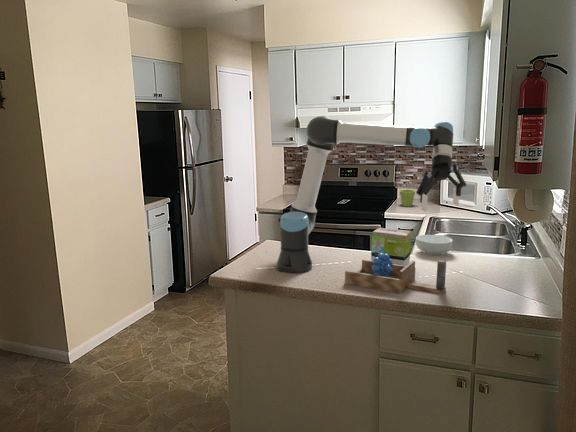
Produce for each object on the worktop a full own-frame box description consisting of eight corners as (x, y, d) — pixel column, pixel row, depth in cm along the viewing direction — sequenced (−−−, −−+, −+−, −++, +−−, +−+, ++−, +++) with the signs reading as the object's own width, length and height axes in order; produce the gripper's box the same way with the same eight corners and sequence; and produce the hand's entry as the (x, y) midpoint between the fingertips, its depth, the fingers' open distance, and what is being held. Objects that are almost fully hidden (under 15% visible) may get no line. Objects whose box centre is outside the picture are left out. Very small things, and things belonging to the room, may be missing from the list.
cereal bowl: (442, 260, 220) (443, 244, 219) (408, 253, 231) (409, 239, 229) (457, 252, 233) (458, 237, 231) (424, 246, 243) (425, 232, 242)
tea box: (370, 264, 214) (371, 231, 212) (377, 258, 223) (378, 226, 220) (404, 269, 208) (405, 235, 205) (410, 262, 216) (411, 230, 213)
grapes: (381, 288, 184) (382, 257, 182) (367, 283, 189) (368, 253, 187) (400, 281, 191) (401, 251, 189) (386, 277, 196) (387, 248, 194)
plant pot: (401, 204, 363) (401, 189, 361) (417, 205, 357) (417, 190, 355) (396, 206, 353) (396, 191, 351) (412, 208, 347) (413, 192, 345)
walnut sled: (450, 285, 186) (451, 256, 184) (438, 300, 171) (440, 268, 169) (362, 271, 204) (363, 244, 202) (344, 283, 189) (345, 254, 187)
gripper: (476, 154, 189) (475, 205, 182) (420, 169, 207) (416, 215, 200) (466, 146, 185) (464, 197, 177) (410, 161, 203) (406, 209, 195)
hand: (439, 207), depth 188 cm, fingers open, 13 cm apart
